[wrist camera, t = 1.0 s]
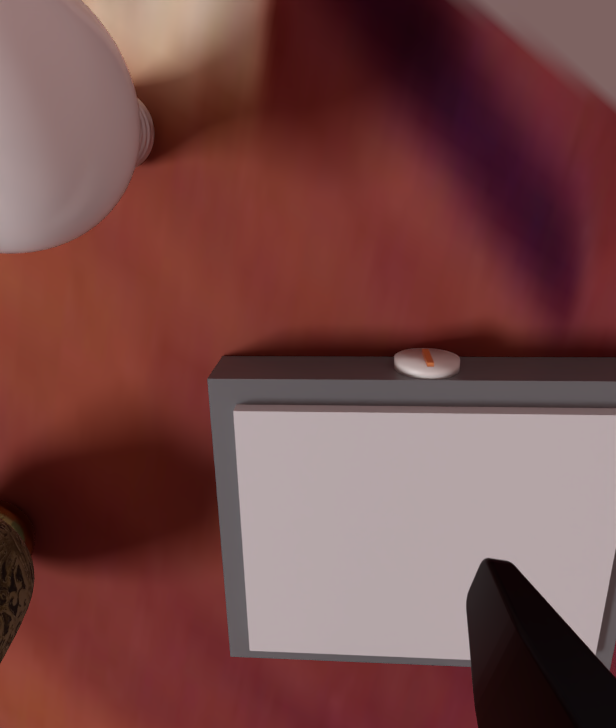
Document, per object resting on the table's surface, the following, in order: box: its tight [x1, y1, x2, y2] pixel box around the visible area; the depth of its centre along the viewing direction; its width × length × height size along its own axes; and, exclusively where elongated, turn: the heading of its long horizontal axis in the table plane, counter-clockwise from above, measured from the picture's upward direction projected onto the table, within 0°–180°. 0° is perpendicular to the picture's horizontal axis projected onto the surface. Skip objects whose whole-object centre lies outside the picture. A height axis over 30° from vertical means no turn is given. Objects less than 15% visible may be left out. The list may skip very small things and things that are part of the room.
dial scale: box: [207, 348, 616, 671], centre depth 23 cm, size 14×16×3 cm
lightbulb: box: [0, 0, 154, 254], centre depth 15 cm, size 6×6×11 cm
